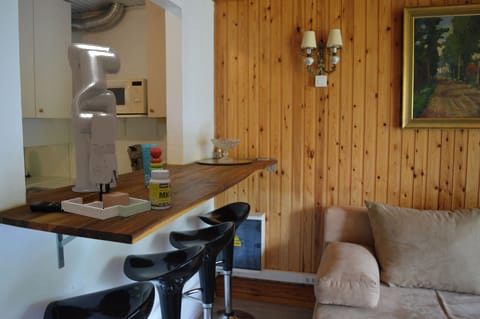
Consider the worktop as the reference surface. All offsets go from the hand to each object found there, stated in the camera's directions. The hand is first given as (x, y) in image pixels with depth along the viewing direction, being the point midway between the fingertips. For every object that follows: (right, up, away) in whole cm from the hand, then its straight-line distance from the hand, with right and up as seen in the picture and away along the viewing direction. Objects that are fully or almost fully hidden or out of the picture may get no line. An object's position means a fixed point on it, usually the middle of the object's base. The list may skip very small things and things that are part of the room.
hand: (104, 202), depth 125 cm
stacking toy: (+10, +2, +33) cm, 35 cm away
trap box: (+2, -2, -4) cm, 5 cm away
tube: (+5, +3, +44) cm, 44 cm away
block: (+5, -2, -2) cm, 6 cm away
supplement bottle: (+19, -2, +1) cm, 19 cm away
